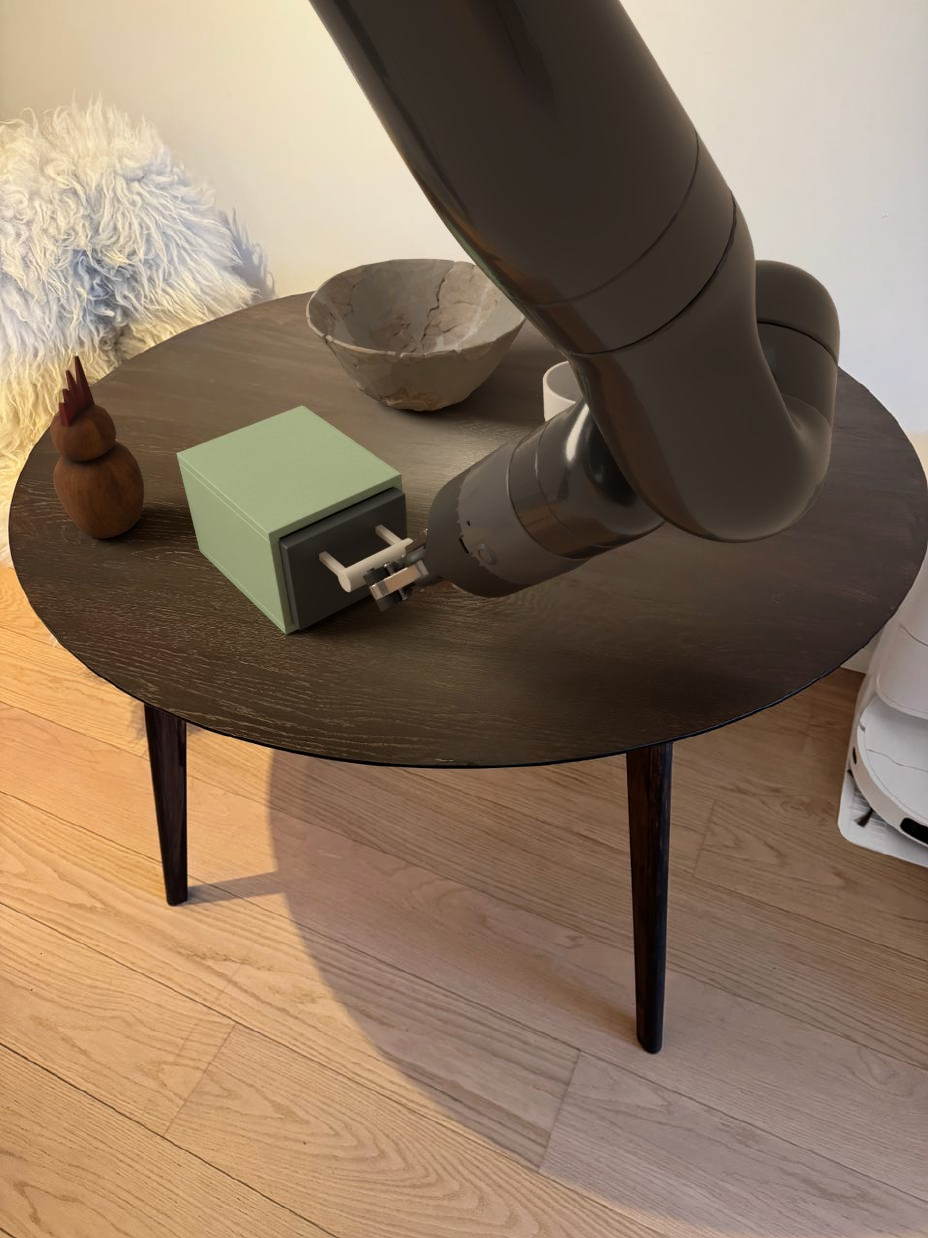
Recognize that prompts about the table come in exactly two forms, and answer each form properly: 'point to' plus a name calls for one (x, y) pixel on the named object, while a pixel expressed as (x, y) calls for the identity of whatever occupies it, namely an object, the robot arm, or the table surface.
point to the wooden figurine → (93, 464)
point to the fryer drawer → (341, 555)
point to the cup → (559, 389)
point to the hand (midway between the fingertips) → (397, 580)
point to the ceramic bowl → (415, 329)
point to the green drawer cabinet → (273, 496)
